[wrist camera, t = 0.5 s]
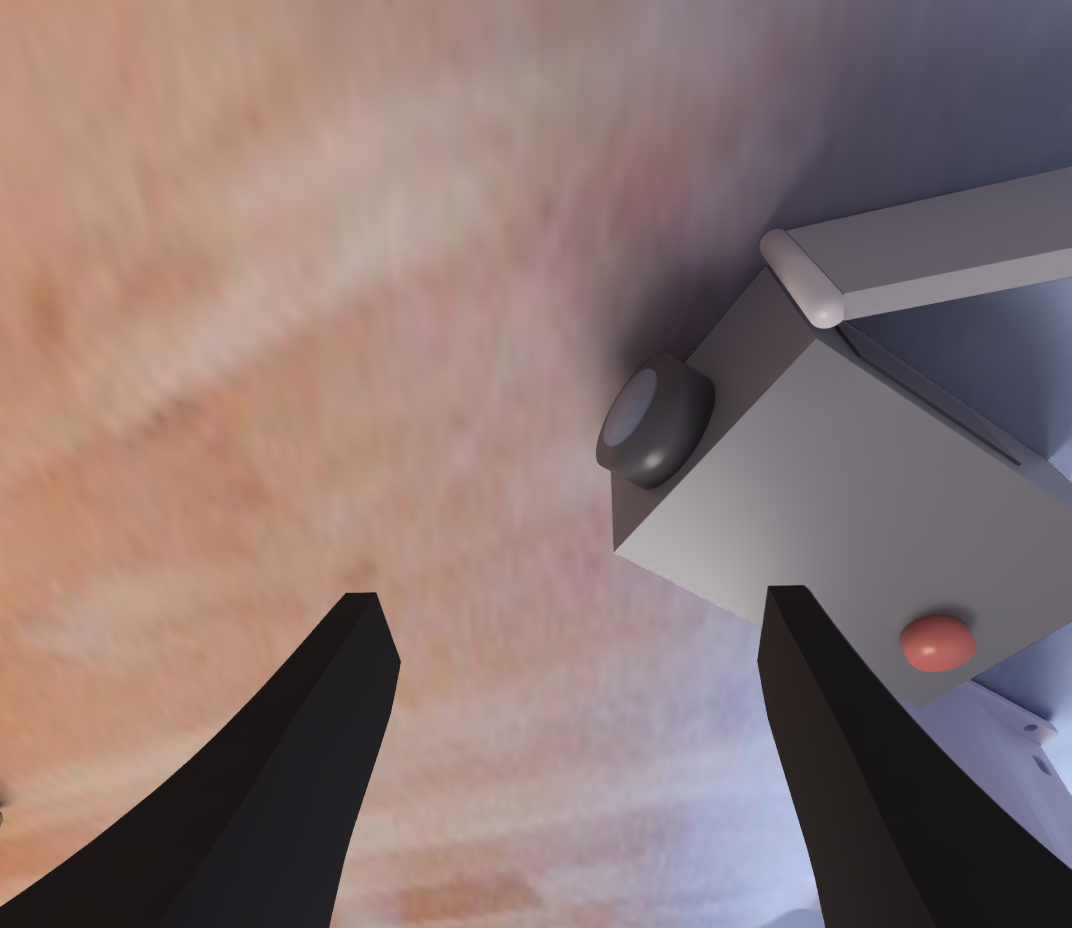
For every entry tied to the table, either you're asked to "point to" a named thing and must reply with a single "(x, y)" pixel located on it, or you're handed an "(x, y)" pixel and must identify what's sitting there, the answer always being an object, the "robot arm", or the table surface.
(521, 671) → the table surface
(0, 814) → the rock
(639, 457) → the camera body
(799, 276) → the side door
